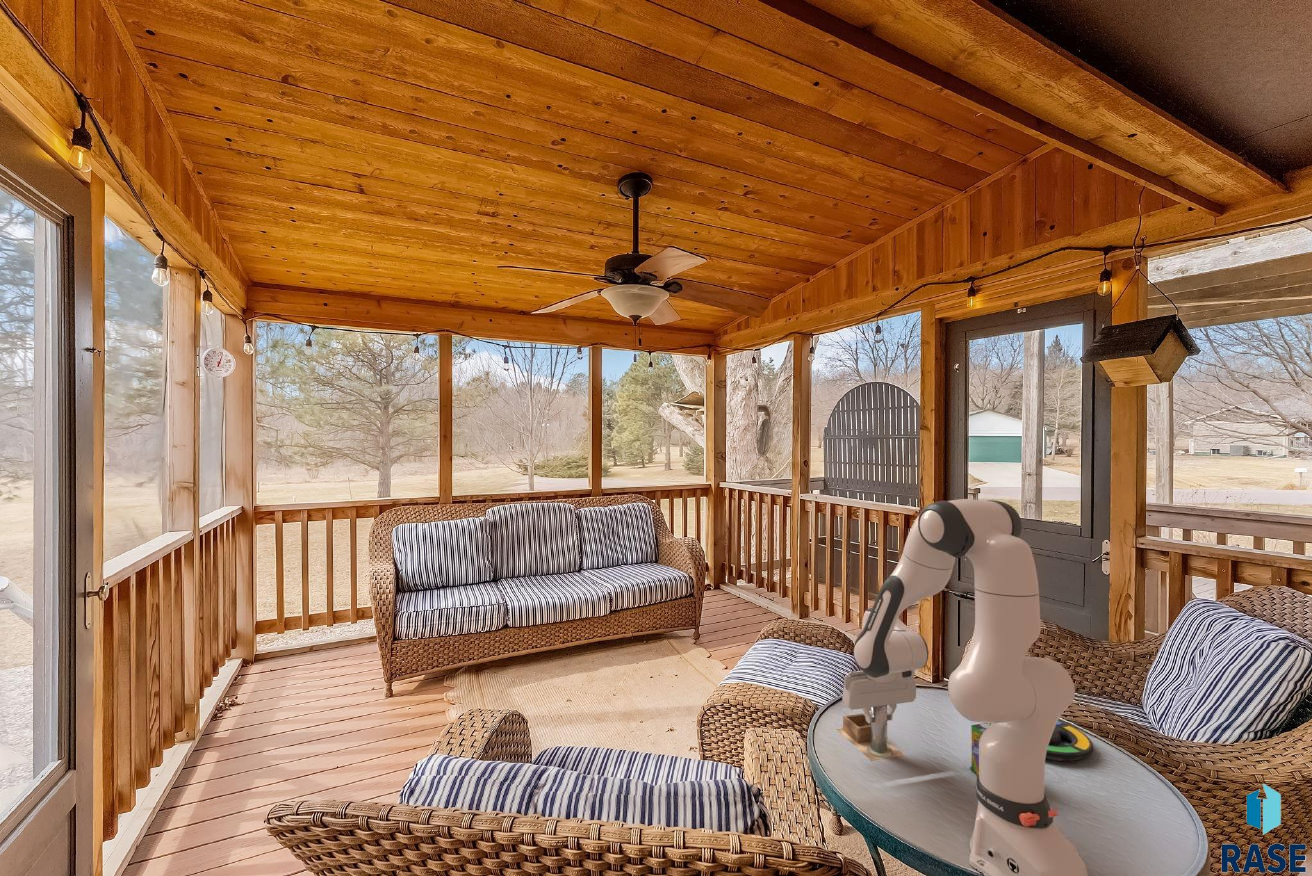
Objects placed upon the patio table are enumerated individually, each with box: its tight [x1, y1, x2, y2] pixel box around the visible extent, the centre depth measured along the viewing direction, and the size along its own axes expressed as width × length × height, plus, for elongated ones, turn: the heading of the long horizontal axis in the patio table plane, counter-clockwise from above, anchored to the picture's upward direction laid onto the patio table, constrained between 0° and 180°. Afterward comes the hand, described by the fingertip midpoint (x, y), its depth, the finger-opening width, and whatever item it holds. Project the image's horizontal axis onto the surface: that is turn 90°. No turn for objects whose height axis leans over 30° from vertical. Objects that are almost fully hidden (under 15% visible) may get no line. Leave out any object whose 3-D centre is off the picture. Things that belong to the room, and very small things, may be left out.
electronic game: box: [1045, 719, 1094, 762], centre depth 155 cm, size 23×23×5 cm
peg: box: [870, 705, 888, 753], centre depth 149 cm, size 4×4×12 cm
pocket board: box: [836, 713, 905, 762], centre depth 153 cm, size 16×10×5 cm, turn 14°
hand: (879, 720), depth 149 cm, fingers closed on peg, 4 cm apart
